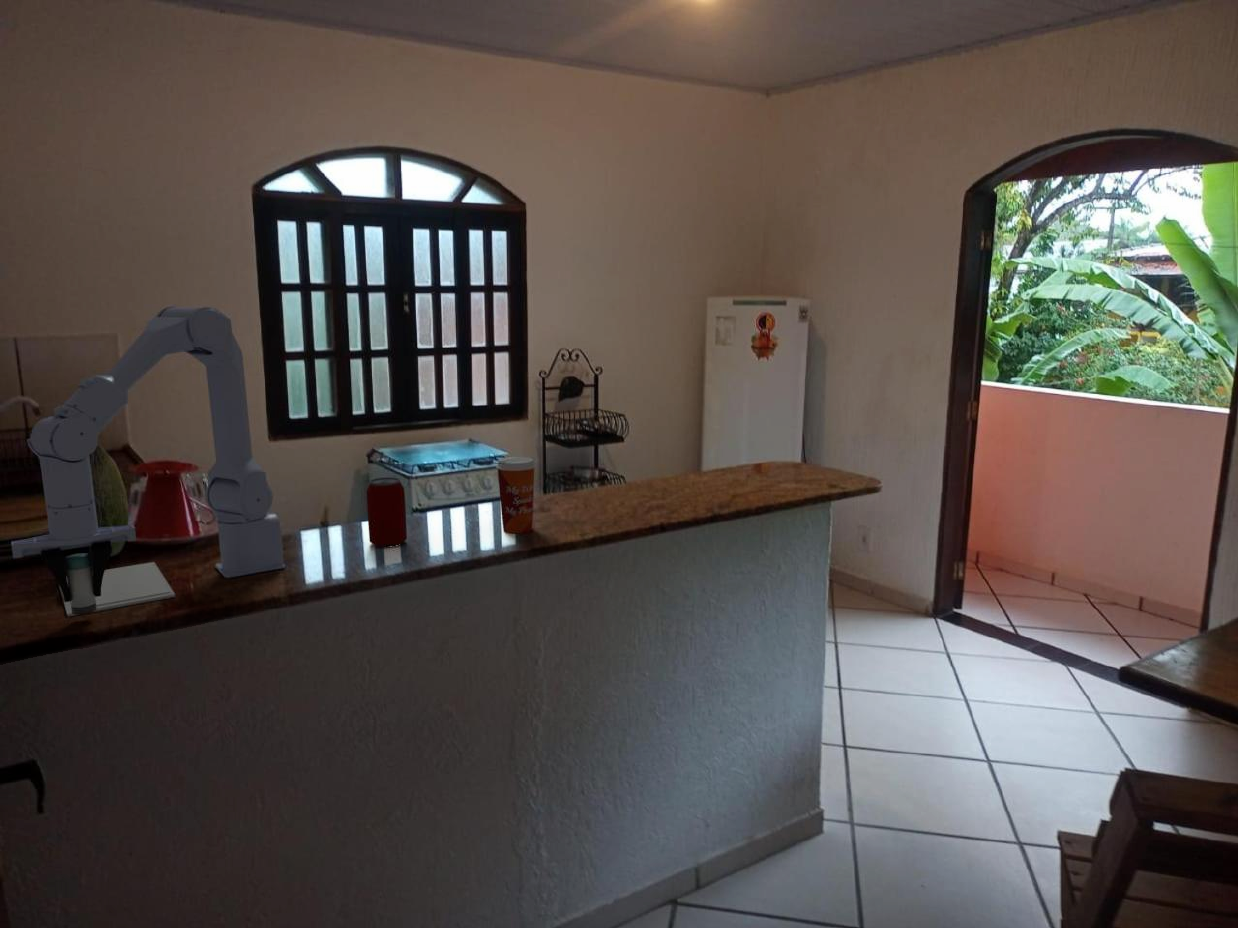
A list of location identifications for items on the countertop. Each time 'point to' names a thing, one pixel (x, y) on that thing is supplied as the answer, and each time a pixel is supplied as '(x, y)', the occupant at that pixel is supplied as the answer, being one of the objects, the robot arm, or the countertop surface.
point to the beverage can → (386, 512)
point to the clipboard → (129, 587)
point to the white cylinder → (80, 583)
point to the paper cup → (516, 493)
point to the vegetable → (108, 493)
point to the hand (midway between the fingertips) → (82, 597)
